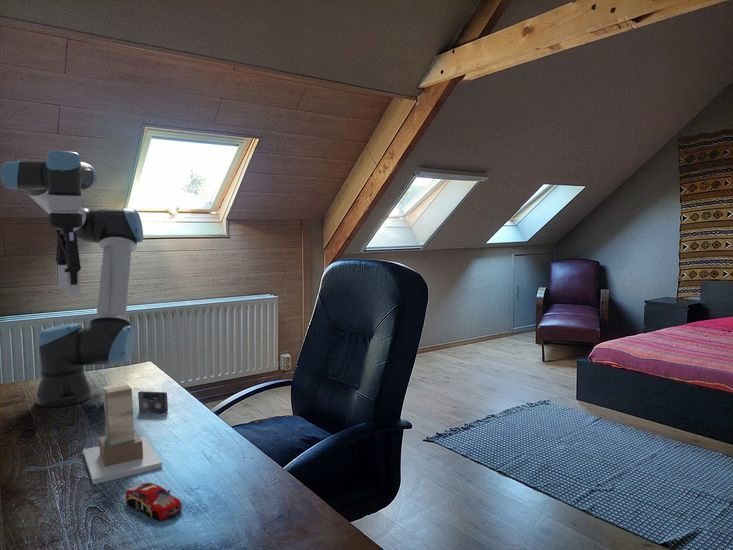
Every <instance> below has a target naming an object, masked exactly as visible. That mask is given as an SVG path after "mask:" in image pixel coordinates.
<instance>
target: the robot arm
mask: <svg viewBox="0 0 733 550" xmlns="http://www.w3.org/2000/svg"><path fill="white" fill-rule="evenodd" d="M97 177H98V176H97V172H96V170H95V168H94V167H93V166H92V165H91V164H89V163H87V162H84V161H81V158H80V154H79V153H78V152H74V151H64V150H50V151H48V152H47V154H46V161H44V160H43V161H37V160H36V161H34V160H13V161H11V160H10V161H5V162H3V164H2V165H1V167H0V179H1V183H2V185H3V186H4V187H5V188H6V189H8V190H15V191H18V190H22V191H23V192H24V193H26V194H27V196H29V197H30V198H31V200H33V201H34V202H35V203H36V204H37V205H38V206H40V207H41V209H43V210H44V211H45V212H46V213H47V214H48V218H49V220H48V221H49V226H50V228H57V229H56V231H55V232H56V251H55V252H56V253H55V262H56V264H57V281H58V283H57V285H58V290H65V289H66V291H67V292H66V294H67V298H78V297H79V298H80V297H81V289H80V271H81V269H82V266H81V260H80V253H79V245H78V240H79V241H82V242H85V243H93V244H95V243H96V244H98V246H99V247H100V248H101V249H102V261H101V268H100V269H101V270H100V278H99V279H100V281H99V289H98V296H97V305H96V306H97V307H96V308H97V309H96V315H95V317H93V318H92V319H90V322H89V323H90V324H89V327H83V325H81V323H80V322H71V323H65V324H60V325H56V326H52V327H51V326H50V327H48V328H45V329H42V330H41V331H40V332H39V334H38V345H37V347H38V351H39V352H38V354H39V363H40V364H39V365H40V375H41V377H40V383H39V384H38V385H39V386H38V389H37V394H36V395H35V397H36V404H37V405H38V406H39V407H44V408H45V407H46V408H55V407H64V406H70V405H75V404H79V403H82V402H84V401H87V400H89V399H90V398H92V394H93V391H92V387H91V385H90V383H89V381H88V377H87V375H86V374H85V369H84V368H85V366H97V365H98V366H100V365H102V366H103V365H104V366H105V365H111V366H112V365H113V366H114V365H117V364H125V363H127V362H129V360H130V359H131V358H132V356H133V353H134V351H135V346H136V330H135V327H134V326H133V325H132V326H131V321H130V320H129V319H128V318H127V317H126V316H127V305H128V294H129V283H130V272H131V271H130V269H131V260H132V259H131V257H132V252H134V251H135V250H136V249H137V243H142V242H143V240H144V230H143V229H144V228H143V224H142V221H141V216H140V214H139V212H138V211H137V210H136V209H135V208H124V207H122V208H87V207H86V208H83V207H82V204H84V202H85V200H84V199H82V191H83V190H86V189H87V190H88V189H90V188H91V187H93V186H94V185H95V183H96V182H97V179H98V178H97Z"/></svg>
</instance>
